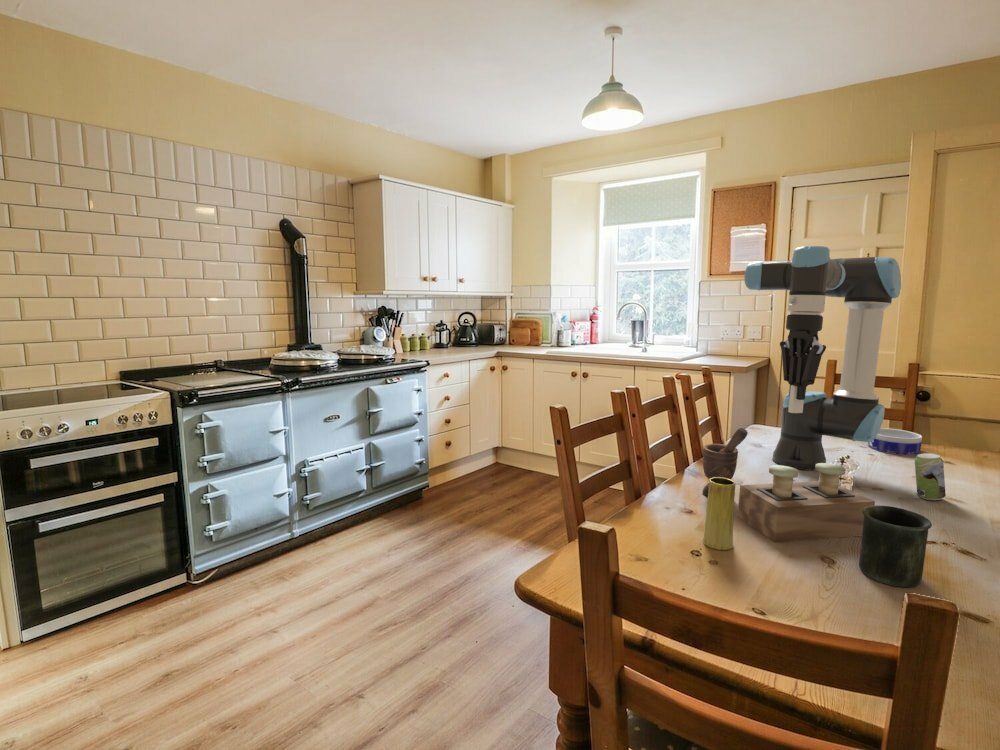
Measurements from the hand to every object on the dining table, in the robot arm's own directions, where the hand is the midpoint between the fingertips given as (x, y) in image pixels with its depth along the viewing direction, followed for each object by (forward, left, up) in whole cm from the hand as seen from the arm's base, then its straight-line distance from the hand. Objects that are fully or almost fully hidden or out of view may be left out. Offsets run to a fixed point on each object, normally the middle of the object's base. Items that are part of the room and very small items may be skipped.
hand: (795, 412), depth 132 cm
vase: (+13, -26, -26) cm, 39 cm away
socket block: (+7, -1, -26) cm, 27 cm away
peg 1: (+7, -7, -20) cm, 22 cm away
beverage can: (-4, +45, -26) cm, 52 cm away
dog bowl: (-47, +77, -26) cm, 94 cm away
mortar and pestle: (-13, -9, -26) cm, 30 cm away
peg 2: (+7, +5, -20) cm, 21 cm away
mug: (+29, +1, -26) cm, 39 cm away
